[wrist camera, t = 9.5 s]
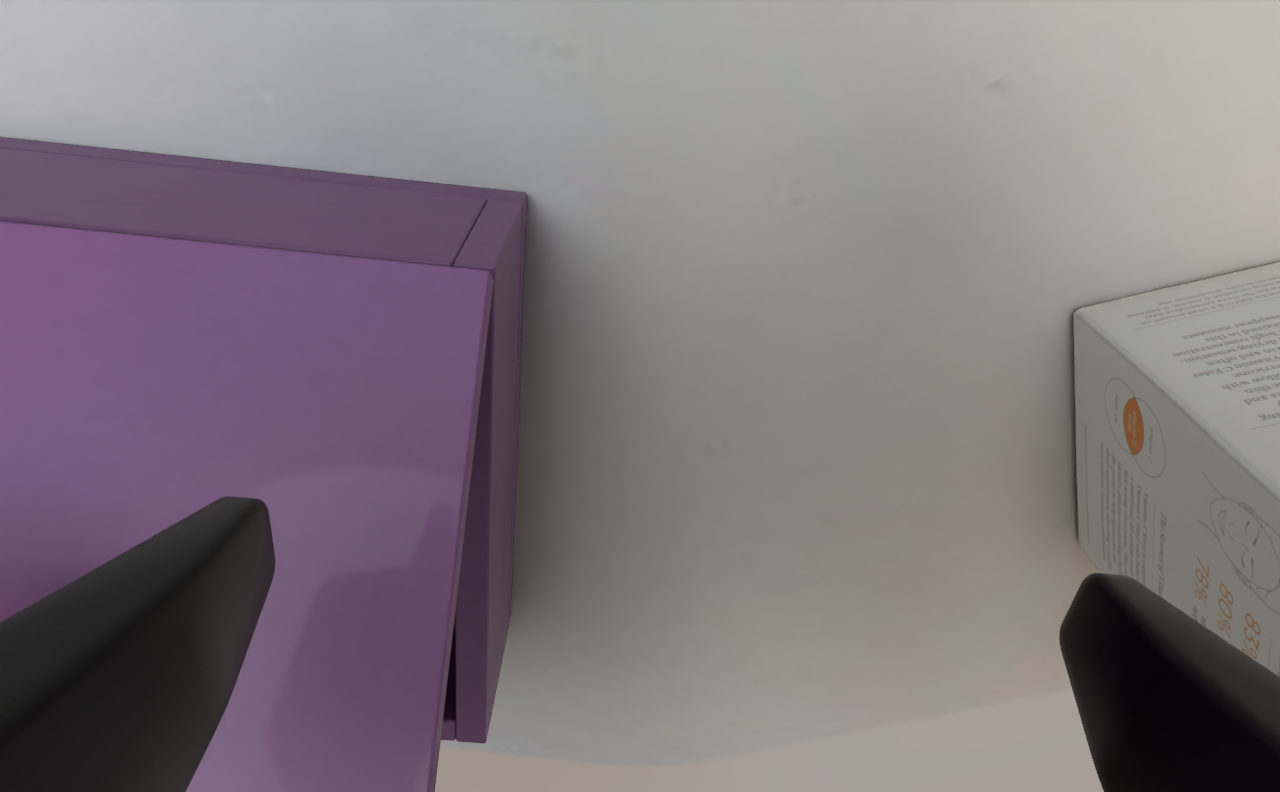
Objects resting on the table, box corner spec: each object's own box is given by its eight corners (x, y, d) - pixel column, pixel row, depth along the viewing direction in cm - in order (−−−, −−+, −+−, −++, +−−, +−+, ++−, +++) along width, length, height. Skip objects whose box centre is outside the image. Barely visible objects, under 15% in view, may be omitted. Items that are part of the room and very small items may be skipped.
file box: (511, 613, 27) (485, 744, 23) (-31, 568, 26) (-160, 695, 22) (527, 191, 20) (495, 267, 16) (-206, 114, 19) (-442, 172, 15)
